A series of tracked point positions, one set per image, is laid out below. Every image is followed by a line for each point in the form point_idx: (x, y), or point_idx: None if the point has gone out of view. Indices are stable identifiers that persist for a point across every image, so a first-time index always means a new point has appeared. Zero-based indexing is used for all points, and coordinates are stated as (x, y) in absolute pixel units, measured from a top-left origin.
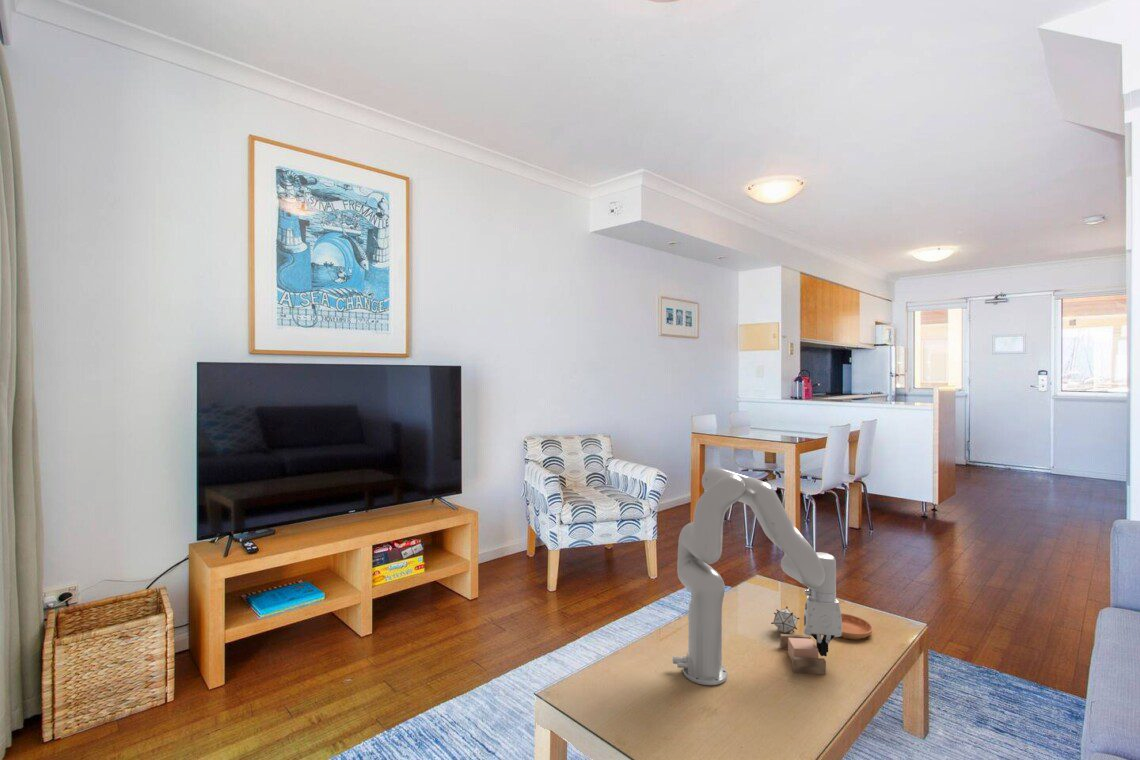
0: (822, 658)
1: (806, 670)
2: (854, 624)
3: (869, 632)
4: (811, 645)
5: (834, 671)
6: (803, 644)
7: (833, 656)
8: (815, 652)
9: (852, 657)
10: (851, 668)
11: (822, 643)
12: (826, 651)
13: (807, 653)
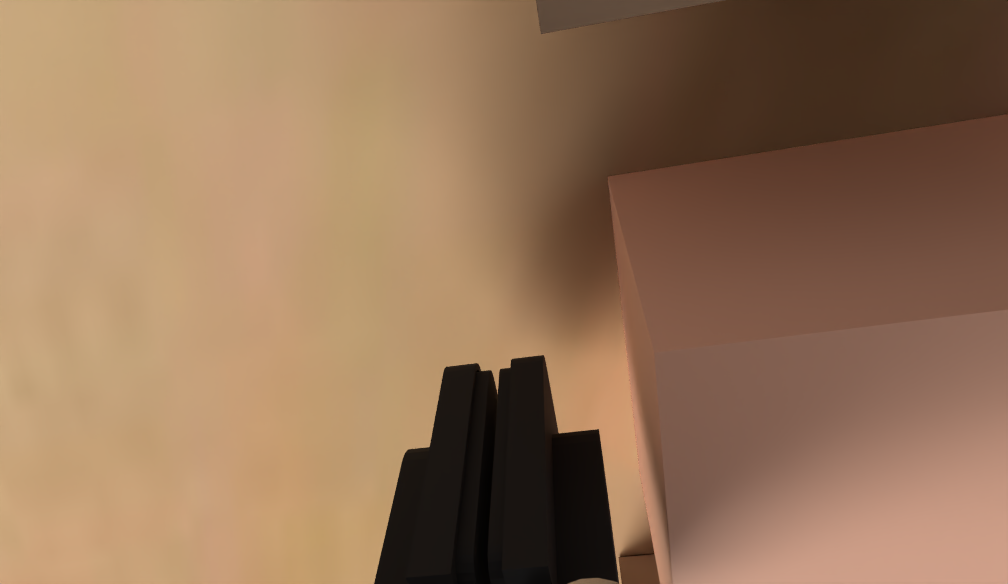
0: (592, 19)
1: None
2: None
3: None
4: (772, 506)
5: (348, 68)
6: (962, 511)
7: (355, 485)
8: (714, 300)
9: (135, 509)
10: (99, 249)
11: (515, 574)
12: (437, 428)
13: (910, 253)
